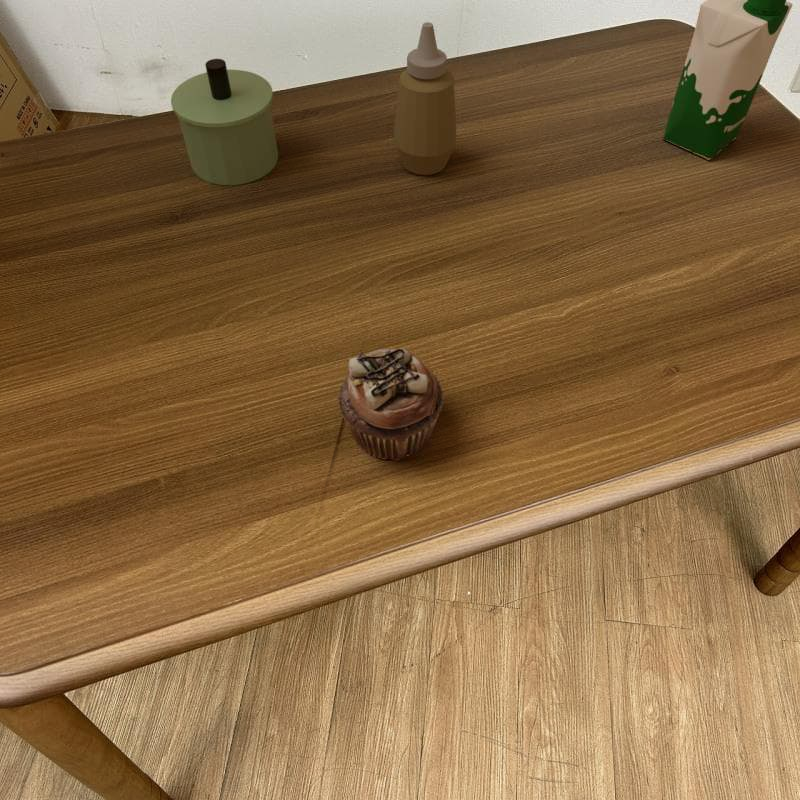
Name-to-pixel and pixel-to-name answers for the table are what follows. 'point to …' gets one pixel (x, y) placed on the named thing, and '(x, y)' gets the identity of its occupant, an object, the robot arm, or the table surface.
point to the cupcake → (390, 402)
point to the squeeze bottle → (425, 108)
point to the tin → (232, 150)
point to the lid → (221, 96)
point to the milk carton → (723, 71)
